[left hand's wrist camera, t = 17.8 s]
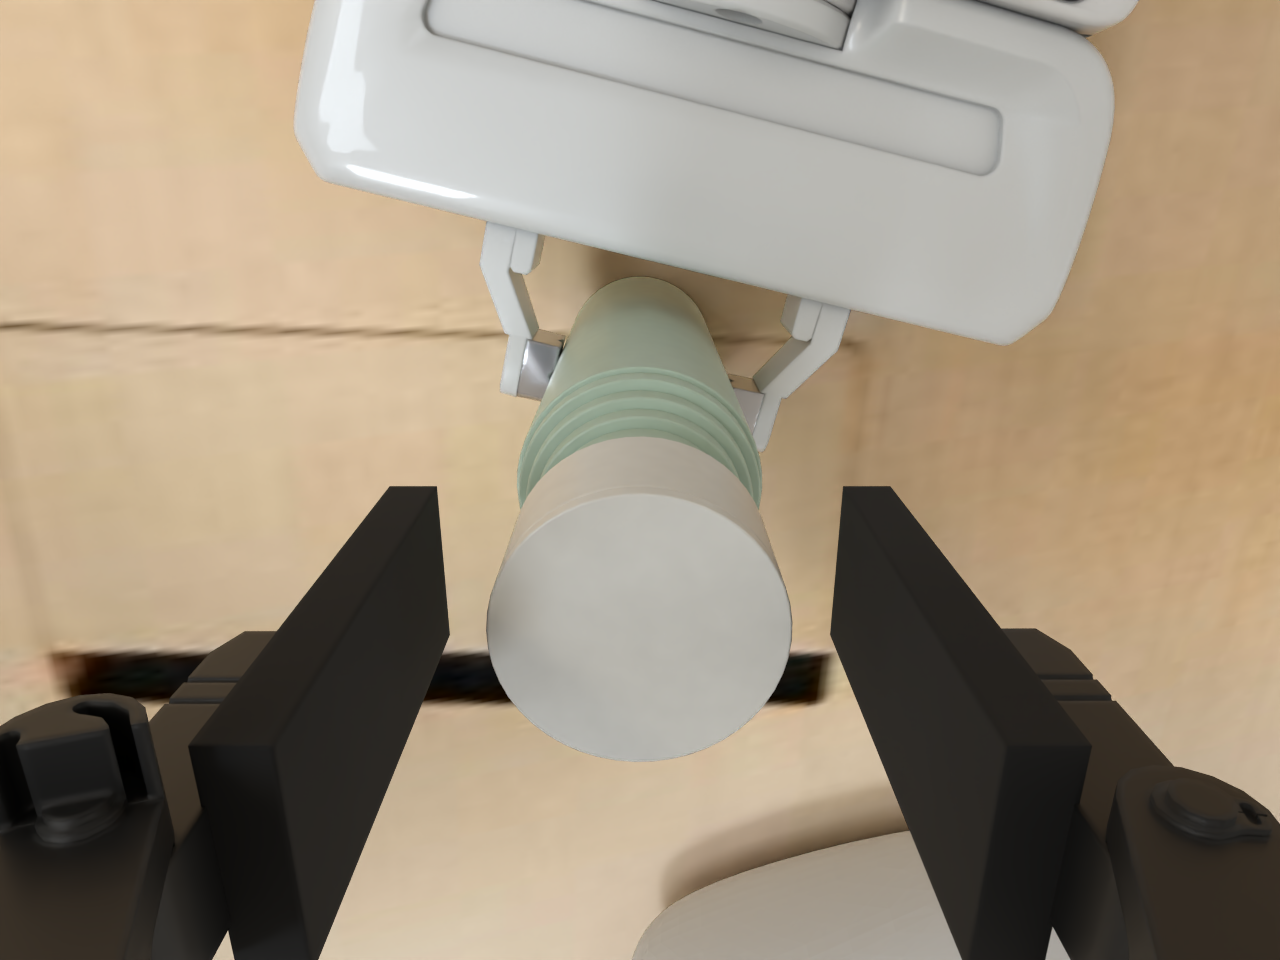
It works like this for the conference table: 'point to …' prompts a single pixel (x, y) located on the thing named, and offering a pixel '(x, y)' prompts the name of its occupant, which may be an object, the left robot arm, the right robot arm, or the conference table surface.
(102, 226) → the conference table surface
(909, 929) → the projector
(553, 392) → the bottle
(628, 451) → the cap
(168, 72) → the conference table surface
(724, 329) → the conference table surface
